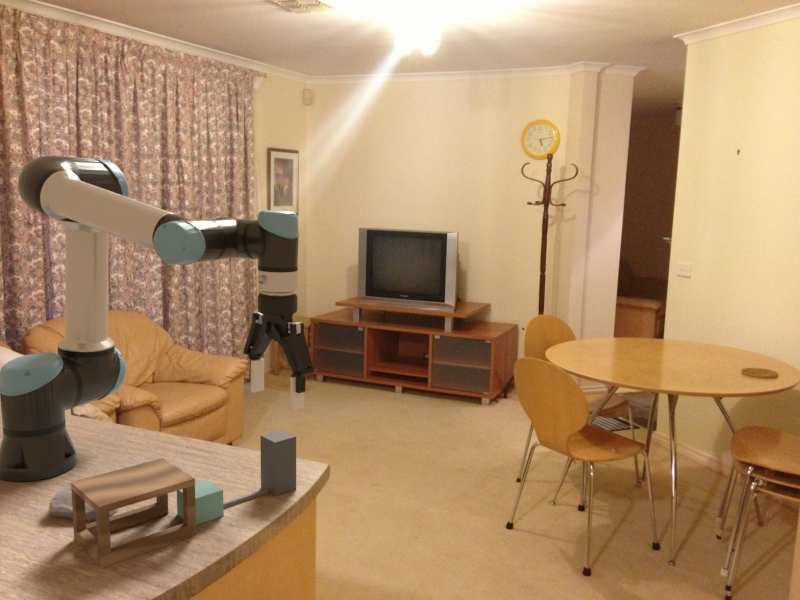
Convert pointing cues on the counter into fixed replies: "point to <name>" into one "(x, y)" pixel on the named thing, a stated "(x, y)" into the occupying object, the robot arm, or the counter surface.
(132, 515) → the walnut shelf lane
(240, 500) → the tethered block
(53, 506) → the stone block
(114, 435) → the counter surface
